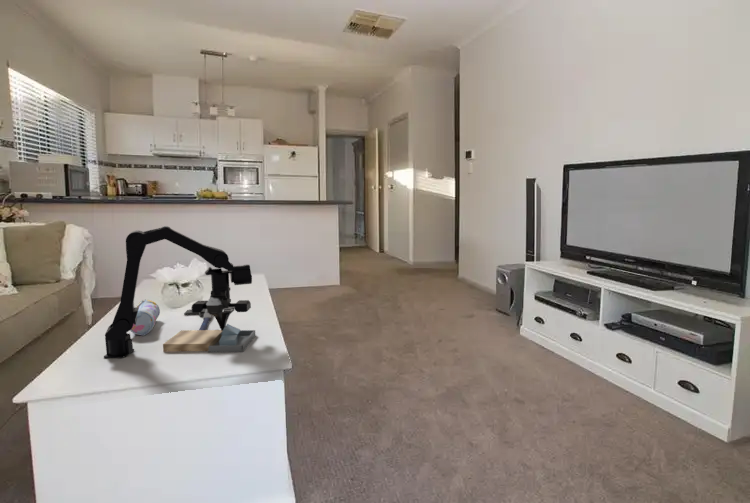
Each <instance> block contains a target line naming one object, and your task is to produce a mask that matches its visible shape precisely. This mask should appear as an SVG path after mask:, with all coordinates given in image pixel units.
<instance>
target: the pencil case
mask: <svg viewBox="0 0 750 503" xmlns="http://www.w3.org/2000/svg"><path fill="white" fill-rule="evenodd" d="M136 307H139V309H138V313H137V322H136V324H133V327H132V329H131V330H130V332H132V334H135V335H138V336H146V335H148V334H149V333H150V332H151V331H152V330H153V328H154V327H155V325H156V322H157V319H158V317H159V316H160V313H161V310H160V307H159V304H158V303H156V302H155V301H154V300H153V301H152V300H150V299H142V300H141V301H140V302H139V303H138V304H137V305H136Z"/></svg>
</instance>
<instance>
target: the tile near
mask: <svg viewBox="0 0 750 503" xmlns="http://www.w3.org/2000/svg"><path fill="white" fill-rule="evenodd" d="M237 342H238V341H237V335H227V336H222V337H221V338H220V340H219V344H220V346H231V345H237Z"/></svg>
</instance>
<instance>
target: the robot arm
mask: <svg viewBox="0 0 750 503" xmlns="http://www.w3.org/2000/svg"><path fill="white" fill-rule="evenodd" d="M164 240H166V241H168V242H171V243H173V244H174V245H177V246H178V247H181V248H183V249H185V250H187V251H189V252H192V253H193V254H196V255H198V256H199V257H201V258H202V259H203V260H204V261H205V262H207V263H208V264H210V265H211V266H213V267H214V268H212V267H211V266H209V267H208V268H207V270H205V271H204V274H205V276H210V278H211V279H210V280H211V291H210V297H209V298H208V300H197V301H196V302H193V303H192V305H191V309H192V312H201V311H202V310H203V309H207V311H208V313H209V314H210V315H213V316H212V317H214V318H215V320H216V322H217V324H218V326H219V329H220V330H222V331H223V329H224V328H225V326H226V325H227V324H228V320H229V317H230V315H231V314H232V313H233V312H234V311H236V313H247V312H248V311H249V310H250V309H251V308H252V307H251V304H252V303H251V301H250V300H249V299H247V300H242V299H241V300H237V302H234V303H233V302H232V299H231V294H230V292H231V287H230V283H233V284H234V286H239V285H240V286H241V285H251V284H252V283H253V276H252V271H251V266H250V264H243V265H234V264H233V263H231V262H230V261H229V260H230V259H229V255H228V254H227V253H226V252H225V251H224V250H222V249H219V248H218V247H217V248H216V247H213V246H209V245H206V244H203V243H201V242H199V241H197V240H195V239H193V238H191V237H189V236H187V235H185V234H183V233H180V232H178V231H176V230H174V229H172V228H171V227H170V226H167V225H165V226H162V227H158V228H153V229H150V230H145V231H142V230H133V231H131V232H130V233H129V234H128V235H126V238H125V253H126V265H125V270H124V271H125V272H124V276H123V284H122V289H121V295H120V303H119V305H118V307H117V310H116V312H115V315H114V318H113V321H112V323H111V324H110V325H109V326H108V327H107V329H106V332H105V334H104V336H105V337H104V339H105V340H104V341H105V351H106V354H105V355H103V358H105V359H106V358H108V359H109V358H111V359H113V358H125V357H127V356H128V355H130V354H131V353H133V352H134V351H135V348H134V345H133V339H132V337H131V333H128V332H129V331H130V330H131V329H132V327H133V324H136V322H137V313H138V309H139V307H137V306H135V298H136V296H135V295H136V290H137V284H138V278H139V273H140V272H139V271H140V265H141V261H142V257H143V255H144V253H145V249H146V247H147V245H150V244H154V243H157V242H161V241H164ZM223 269H225V270H223ZM130 332H131V331H130Z"/></svg>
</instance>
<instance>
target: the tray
mask: <svg viewBox="0 0 750 503" xmlns="http://www.w3.org/2000/svg"><path fill="white" fill-rule="evenodd" d="M255 337H256V330H255V329H251V330H250V329H249V330H248V329H247V330H246V329H245V330H244V329H243V330H242V329H240V332H239V334H238V336H237V341H238V342H237V345H231V346H220V344H219V341H218V342H217V343H216V344H215V345H214V346H208V347H209V351H207V352H208V353H243V352H244V351H245V350H246V349H247V347H248V346H249V345H250V343H251V342H252V341H253V339H254V338H255Z"/></svg>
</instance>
